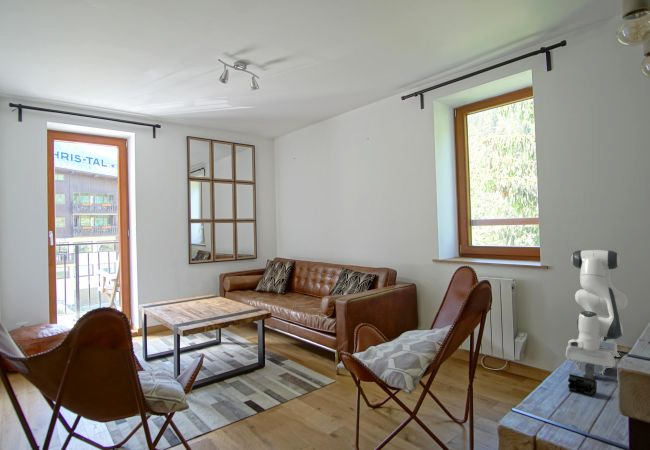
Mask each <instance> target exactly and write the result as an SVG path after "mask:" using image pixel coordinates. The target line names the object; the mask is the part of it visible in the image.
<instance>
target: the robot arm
mask: <svg viewBox="0 0 650 450" xmlns="http://www.w3.org/2000/svg"><path fill="white" fill-rule="evenodd" d="M620 259H621V258H620V256H619V254H618V252H616V251H613V250H604V249H603V250H602V249H588V250H581V249H579V250H575V251H573V252H572V255H571V263H572V265H573V267H575V268H578V269H579V270H580V271H579V272H580V274H579V282H580V287H581V288H582V289H581V288H580V289H578V290H577V291H576V292H575V294H574V299H575V302H576V303H577V304H578V305H579V306H580V307H582V308H583V311H581V312H580V313H579V315H578V319H577V320H576V326H577V327H576V328H577V330H578V332H579V333H578V337H579V339H578V338H572V339H570V340H568V342H567V346H566V350H565V358H566V359H567V360H572V361H573V363H574V365H575V366H576V370H577V371H578V370H579V371H581V368H580V367H581V366H580V365H579V363H578V361H580V362H586V363H591V364H596V365H601V366H602V368H603V369H602V370H599V372H600V373H599V374H598V375H600V374H602V375H601V376H604V375H603V371H604V370H605V369H606V367H612V368H613V367H614V368H615V366H616V359H615V358H614V357H615V353H617V351H619V349H618V345H617V344H618V343H617V342H616V341H615V340H616V339H617V340H618V339H619V338H621V337H622V336H623V334H624V329H623V328H624V327H623V324H622V322H621V319H620V315H619V311H618V310H624V309H625V308H626V307H628V301H629V299H628V298H627V296H626V294H625V293H624V292H622V291H620V290H619V289H617V288H616V287H615V286H614V284H613V283H612V280H611V270H615V269H617V268H618V267H619V265H620V262H621V261H620ZM600 309H604V310H605V309H606V310H607V312H608V314H605V313H603V312H602V311H601V310H600ZM600 340H601V341H607V342H613V343H614V350H613V349H611V348H609V347H603V346H600Z"/></svg>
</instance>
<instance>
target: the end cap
mask: <svg viewBox="0 0 650 450" xmlns="http://www.w3.org/2000/svg"><path fill="white" fill-rule="evenodd" d="M568 377H569V378H568V379H567V382H568V383H569V384H568V385H567V387H568V392H570V393H573V394H578V395H581V396H586V397H589V398H593V397H594V396H595V394H597V390H598V383H597V382H598V381H597V380H596V379H594V378H593V379H590V378H585V376H581V375H575V374H572V373H570V374H568Z"/></svg>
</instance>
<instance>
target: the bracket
mask: <svg viewBox="0 0 650 450" xmlns="http://www.w3.org/2000/svg"><path fill="white" fill-rule="evenodd" d="M584 372H585V373H584V377H585V378H590V379H594V378H595V373H594V364H589V363H587V364H586V365H585V371H584Z"/></svg>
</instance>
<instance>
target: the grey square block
mask: <svg viewBox="0 0 650 450" xmlns="http://www.w3.org/2000/svg"><path fill="white" fill-rule="evenodd" d="M577 339H579V336H578V337H577ZM600 346H603V347H609V348H611V349H613V350H614V343H613V342H607V341H601V340H600ZM578 362H580V361H578ZM578 362H577V363H578ZM579 364H580V365H579V366H581V367H580V368H581V369H580V371H581V372H585V365H586V364H587V363H586V362H580V363H579ZM589 364H591V363H589ZM602 369H603V368H602V366H601V365H596V364H594V374H595V373H597V375H600V374H599V373H600V372H599V370H602ZM605 370H606V369H605ZM605 370H604V371H603V374H604V373H605V374H606V372H605ZM606 371H607V370H606ZM605 374H604V375H605Z"/></svg>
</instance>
